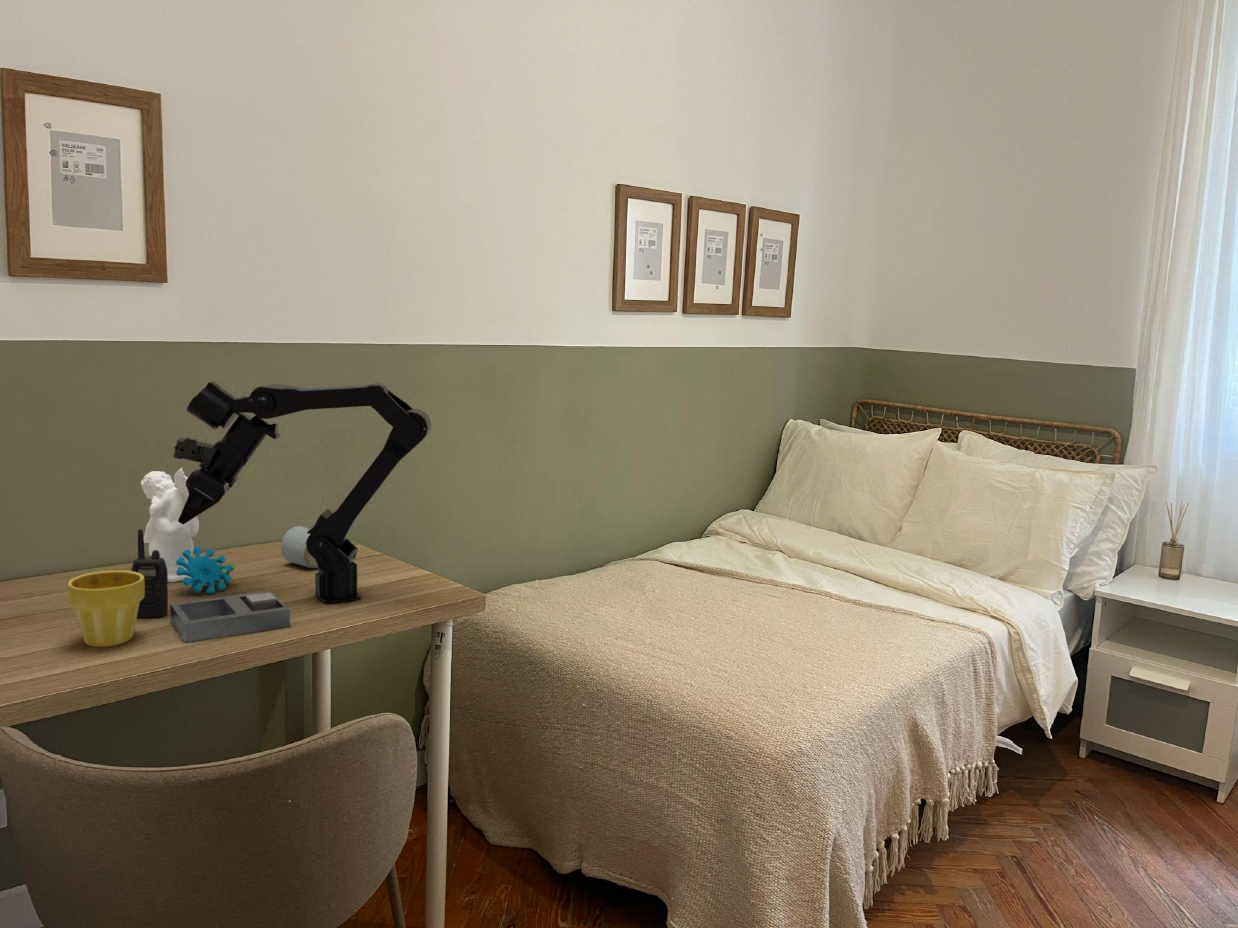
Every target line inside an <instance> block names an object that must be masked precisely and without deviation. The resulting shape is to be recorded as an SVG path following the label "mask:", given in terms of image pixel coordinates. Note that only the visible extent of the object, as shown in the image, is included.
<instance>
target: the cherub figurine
mask: <svg viewBox="0 0 1238 928" xmlns="http://www.w3.org/2000/svg"><path fill="white" fill-rule="evenodd" d="M173 479H174V482H173V480H172V476H171V475H170V474H167V473H166V472H165V471H160V470H159V471H157V470H155V471H154V470H153V471H150V472H148V473H147V474H145V475H144V477H143V479H142V480H141V481H140V486H141V488H142V491H143V493H144V494H145V495H146V496H145V497H146V499H150V501H151V504H150V506H149V508H148V509H149V515H150V517H149V519H148V522H147V524H146V527H145V532H144V534H143V538H144V544H146V543H149V544H148V555H149V557H150V556H152V551H154V550H158V551H159V554H160V557H161V558H163V559H164V560H165V563H166V567H167V573H168V580H167V583H176V582H180V581H181V582H182V580H183V579H184V578H185V577H188V578H190V579H192V578H191V577H189V576H187V575H181V576H179V575H177V573H176V572H177V569H178V568H179V567H182V568H183V569H184V570H186V571H188V570H187V569H186V568H185V567H183V566H181V565H178V564H176V562H177V560H178V559H179V558H180V557H183V558H184V559H185V562H186V563H189V562H188V560H187V559H186V558H185V557H184V556H183V555H182V553H183V552H184V551H185V550H190V551H191V557H192V556H193V554H194V549H195V545H194V540H193V537H196V536H197V535H198V533H199V530H200V529H199V528H200V521H199V518H198V516H196V517H194V518H193V519H191V520H190V521H188V522H187V523H185V524H181V523H179V522H178V519H179V517H180V515H181V512H182V510H183V508H184V505H185V503H186V501H187V498H188V496H189V492H188V489H187V487H186V480H187V479H188V476H186V475H185V471H183V467H181V468H179V469H178V470H177V471H176V472H175V473H174V476H173ZM192 558H193V557H192Z"/></svg>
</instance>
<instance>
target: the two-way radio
mask: <svg viewBox="0 0 1238 928" xmlns="http://www.w3.org/2000/svg"><path fill="white" fill-rule="evenodd" d="M130 571H132V572H137V573H140V574H142V575H143V576H144V582H145V595H144V598H143V599H142V600H141V601H140V604H139V609H138V613H137V618H138V619H139V618H155V617H156V618H157V617H158V618H161V617H164V616H165V615H167V614H168V611H169V610H168V604H169V603H168V600H169V598H168V597H169V594H168V582H167V580H168V573H167V567H166V563H165V560H164V559H163V558H161V557H160V554H159V551H158V550H154V551H152V556H150V555H149V556H148V557H146V556H145V543H144V530H143V529H142V528H139V529H137V558H135V559H134V560H133V561H132V567H131V570H130Z"/></svg>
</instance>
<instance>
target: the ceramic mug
mask: <svg viewBox="0 0 1238 928" xmlns="http://www.w3.org/2000/svg"><path fill="white" fill-rule="evenodd" d="M310 529H311V528H307V527H305V526H301V525H300V526H299V525H298V526H297V525H296V526H294V527H292V528H290V529H288V530H287V532H286V533H285V534H284V536H283V537H282V540H281V544H280V551H281V552H280V553H281V555H282V557H283V558H284V560H285V561H287V562H289V563H292V564H294V565H298V566H301V567H302V566H303V567H306V568H309V569H318V565H317V562H316V560H315V558H313V557H312V556H311V555H310V554H309V552H308V551H307V547H306V540H307V538H308V536H309V535H310V534H307V531H308V530H310Z"/></svg>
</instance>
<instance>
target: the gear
mask: <svg viewBox="0 0 1238 928" xmlns="http://www.w3.org/2000/svg"><path fill="white" fill-rule="evenodd" d="M202 551H203V548H202V547H201V546H196V547H195V546H194V551H193V554H194V556H195V557H191V551H190V550H185V551H184V552H183V553H182V555H183V556H184V557H185V558H186V559H187V560H188V562H189V563H186V562H185V559H184V558H183V557H180V558H179V559H178V560H177V562H176V564H178V565H181V566H183V567H185V568H186V569H187V570H188V571H186V570H184V569H183V568H182V567H179V568H178V569H177V572H176V573H177V575H179V576H181V575H187V576H189V577H191V579H190V578H188V577H185V578H184V579H183V580H182V581H181V583H182V584H183V586H185V587H188V586H189V585H190V586H191V587H192V588H193V589H192V590H193V591H194V592H195V593H197V594H199V593H200V592H201V591H202V590H203V587H204V586H206V585H207V586H208V588H207V589H206V591H205V593H206V594H208V595H213V594H214V593H215V592H216V589H217V590H218V591H219V592H222V591H225V589H226V588H227V585H228V583H230V581H231V580H232V578H233V577H232V576H231V575H230V573H231V572H233V571H235V569H236V567H237V565H236V564H235V563H233V562H231V563H230V565H227V564H226V565H223V564H224V563H225V562H226V558H225V556H224V555H222V554H221V555H219V556H218V557H216V558H210V557H213V556H214V555H215V554H216V551H215V550H214V549H212V548H208V550H206V552H205V555H204V556H202V555H200V554H201V553H202ZM214 583H215V584H217V587H216V588H215V586H214ZM226 584H227V585H226Z"/></svg>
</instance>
